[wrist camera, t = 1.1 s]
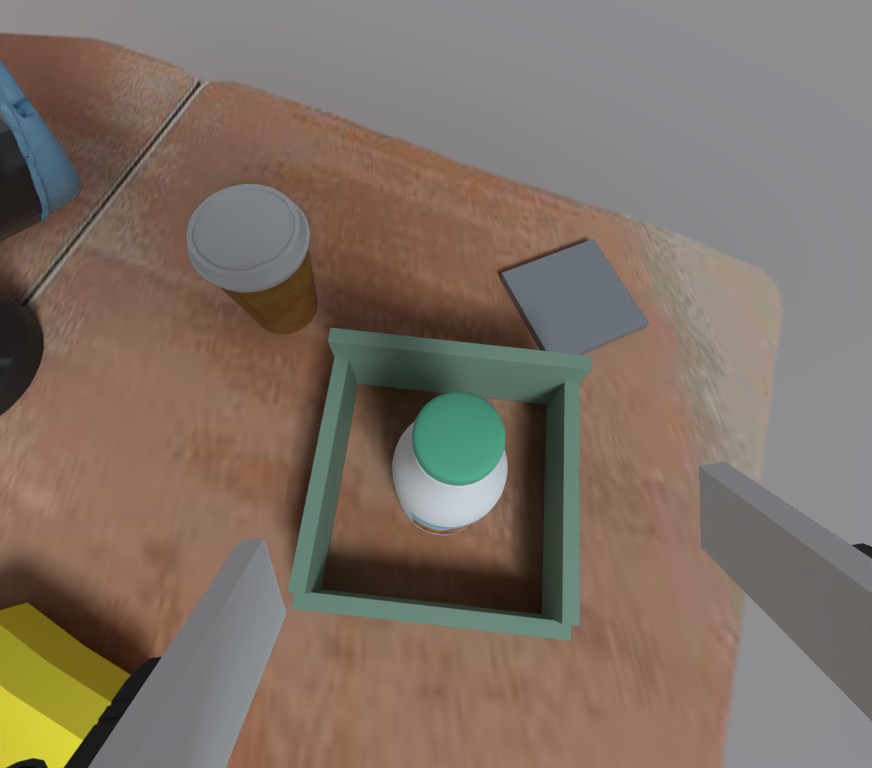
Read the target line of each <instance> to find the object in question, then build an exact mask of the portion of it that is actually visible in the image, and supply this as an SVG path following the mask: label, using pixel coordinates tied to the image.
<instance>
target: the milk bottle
mask: <svg viewBox="0 0 872 768" xmlns="http://www.w3.org/2000/svg"><path fill="white" fill-rule="evenodd" d="M505 440H506V437H505V429H504V425H503V422H502V420H501V418H500V416H499V414H498V412H497V411H496V409H495V408H494V407H493V406H492V405H491V404H490V403H489V402H487V401H486V400H485V399H483V398H482V397H480V396H478V395H475V394H472V393H469V392H462V391H454V392H448V393H444V394H441V395H439V396H437V397H435V398H434V399H432V400H431V401H429V402H428V403H427V404H426V405H425V406H424V407H423V408H422V409H421V411H420V412H419V414H418V416H417V418H416V420H415V421H414V422H413V423H412V424H411V425H410V426H409V427H408V428H407V429H406V430H405V432H404V433H403V434H402V436H401V438H400V439H399V442H398V444H397V446H396V449H395V452H394V456H393V462H392V474H393V482H394V487H395V490H396V493H397V496H398V499H399V502H400V504H401V507H402V509H403V511H404V512H405V514H406V516H407V517H408V518H409V519H410V520H411V522H412V523H414V524H415V525H416V526H417V527H418V528H420V529H422V530H424V531H426V532H428V533H431V534H436V535H450V534H455V533H458V532H461V531H463V530H465V529H467V528H469V527H470V526H472V525H473V524H475V523H476V522H477V521H479V520H480V519H481V518H483V517H484V516H485V515H486V514H487V513H488V512H489V511H490V510H491V509H492V508H493V506H494V505H495V504H496V503H497V501H498V500H499V498H500V496H501V494H502V492H503V489H504V486H505V482H506V478H507V469H508V468H507V457H506V452H505V449H504V448H505Z"/></svg>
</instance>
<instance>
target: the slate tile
mask: <svg viewBox="0 0 872 768" xmlns="http://www.w3.org/2000/svg"><path fill="white" fill-rule="evenodd" d="M500 279H501V281H502V282H503V284H504V286H505V288H506V289H507V291H508V293H509V295H510V297H511V298H512V300H513V302H514V304H515V305H516V307H517V309H518V311H519V312H520V314H521V316H522V318H523V320H524V321H525V323H526V325H527V327H528V328H529V330H530V332H531V334H532V335H533V337H534V339H535V341H536V342H537V344H538V346H539V348H540V350H541V351H550V352H559V353H568V354H578V355H582V354H584V353H586V352H589V351H591V350H593V349H596V348H598V347H601V346H603V345H605V344H608V343H610V342H613V341H615V340H617V339H620V338H622V337H625V336H627V335H629V334H632V333H634V332H637V331H639V330H641V329H644V328H646V327H647V325H648V324H649V322H648V320H647V319H646V317H645V316H644V314H643V313H642V311H641V310H640V308H639V307H638V305H637V304H636V302H635V301H634V299H633V298H632V296H631V295H630V293H629V292H628V290H627V289H626V287H625V286H624V284H623V283H622V281H621V280H620V278H619V277H618V275H617V274H616V272H615V271H614V269H613V268H612V266H611V265H610V263H609V262H608V260H607V259H606V257H605V256H604V254H603V253H602V251H601V250H600V248H599V247H598V245H597V244H596V242H595V241H594V239H592V240H589V241H586V242H584V243H581V244H578V245H575V246H573V247H570V248H567V249H565V250H562V251H559V252H557V253H554V254H551V255H549V256H546V257H543V258H541V259H538V260H535V261H532V262H530V263H527V264H524V265H522V266H519V267H516V268H514V269H511V270H508V271H506V272H503V273H502V274H501V277H500Z"/></svg>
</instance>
